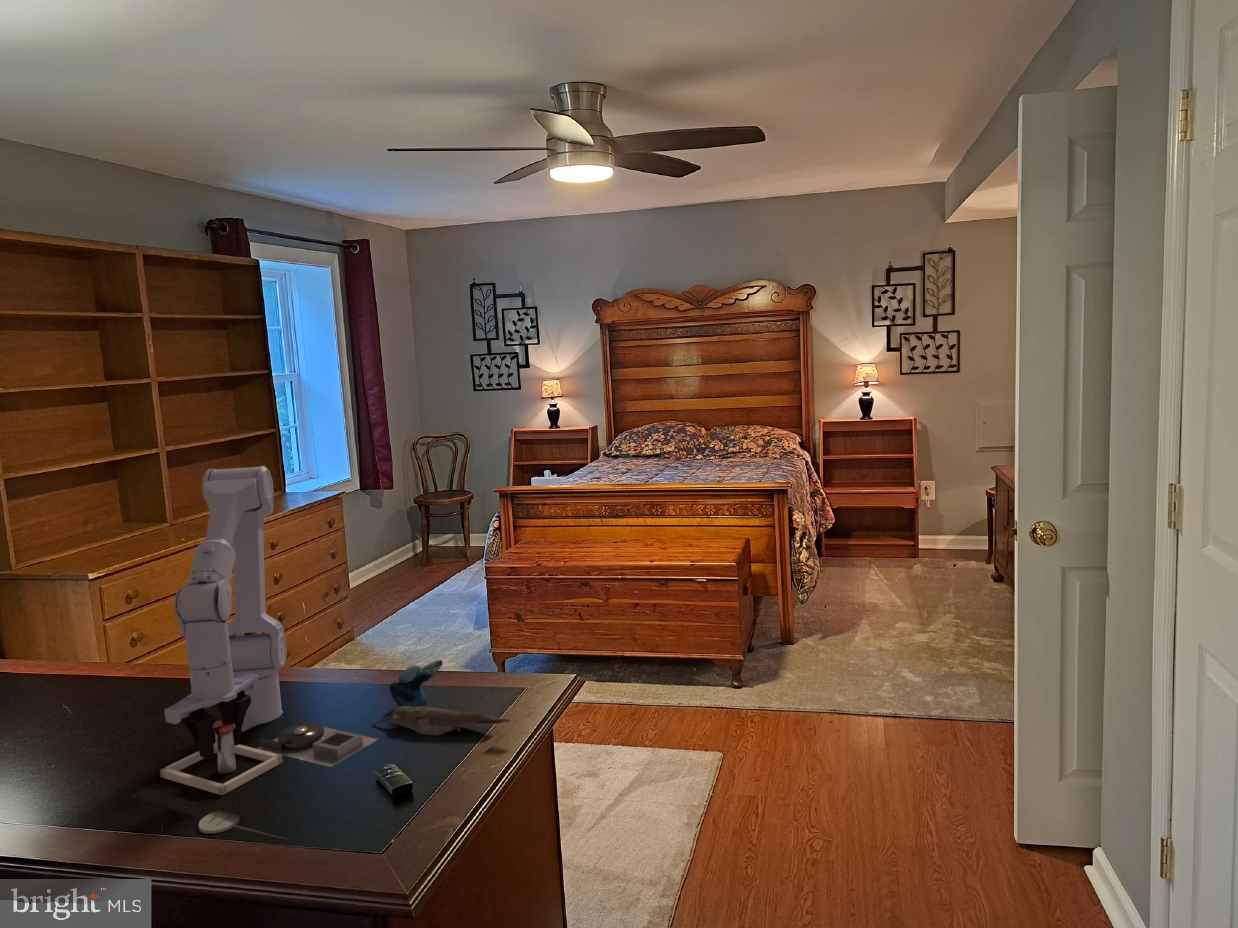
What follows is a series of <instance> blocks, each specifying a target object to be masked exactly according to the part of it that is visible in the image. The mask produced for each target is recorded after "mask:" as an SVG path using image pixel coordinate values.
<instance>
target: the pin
mask: <svg viewBox="0 0 1238 928" xmlns="http://www.w3.org/2000/svg"><path fill="white" fill-rule="evenodd" d="M235 727H236V726H235V721H234V720H231V719H226V720H222V719H221V720H218V721H214V725H213V734H215V743H216V748H217V752H216V756H217V757H216V758H217V769H218V773H220V774H228V773H231V772H233V771H235V770H236V769H237V764H236V763H237V762H236V754H235V749H234V738H233V730H234V729H235Z"/></svg>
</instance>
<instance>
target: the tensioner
mask: <svg viewBox="0 0 1238 928" xmlns="http://www.w3.org/2000/svg"><path fill="white" fill-rule="evenodd" d="M378 740H379V739H378V738H374V737H371V736H365V735H361V734H357V733H353V732H350V731H349V732H348V731H343V730H339V729H336V728H335V729H334V728H330V727H325V726H323V725H322V724H320V723H316V722H311V721H307V720H304V719H303V720H302V719H301V720H299V721H297V725H292V726H290V727H287V728H286V729H284V730H282V731H280V732H279V733H278V735H277V737H276V738H273V739H268V738H262V739H261V740H260V743H261V744H260V746H259V747H256V748H255V749H259V750H263V751H267V752H271V753H275V754H279V755H282V757H283V756H284V757H289V758H293V759H296V760H299V761H303V762H308V763H313V764H316V765H320V766H323V767H329V768H333V767H334V766H336V765H337V764H339V763H341V762H342V761H344V760H346V759H347V758H349V757H351V756H353V755H354V754H357V753H358V752H359V751H361V750H363V749H365V748H366V747H368V746H370V745H371V744H373V743H375V742H376V741H378Z"/></svg>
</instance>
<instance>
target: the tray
mask: <svg viewBox="0 0 1238 928" xmlns="http://www.w3.org/2000/svg"><path fill="white" fill-rule="evenodd" d="M213 745H214V754H217V748H216V742H215V743H214V742H213ZM234 749H235V755H240V756H244V757H248V758H251V759H255V760H259V761H263V762H261V763H259V764H257V765H256V766H254V767H252V768H250V769H248V770H246V771H244V772H242V773H241V774H239V775H237V776H234V777H233V778H231V779H229V780H228V781H226V782H224V783H221V782H216V781H213V780H210V779H206V778H203V777H199V776H195V775H192V774H189V773H185V772H182V771H181V770H183V769H186V768H188V767H190V766H191V765H195V763H198V762H199V761H200V762H201V761H202V760H204V759H205V758H203V757H201V756H200V753H199V751H196V752H194V753H192V754H190V755H188V756H186V757H183V758H182V759H179V760H177V761H176V762H175V761H174V762H173V763H171V764H169V765H166V766H165V767H163V768H161V769H159V774H160V778H162V779H165V780H169V781H173V782H175V783H180V784H182V785H186V786H188V787H193V788H196V789H199V790H202V791H206V792H210V793H213V794H215V795H220V796H224V795H226V794H228V793H230V792H232V791H233V790H235V789H237V788H238V787H240V786H243V785H244V784H246V783H248V782H250V781H252V780H254V779H255V778H257V777H259V776H261V775H262V774H265V773H266V772H268V771H270V770H271V769H273V768H275V767H277V766H279V765H281V764H283V762H284V761H283V755H279V754H276V753H272V752H268V751H264V750H260V749H256V748H254V747H251V746H247V745H244V744H239V745H237V746H234Z"/></svg>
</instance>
